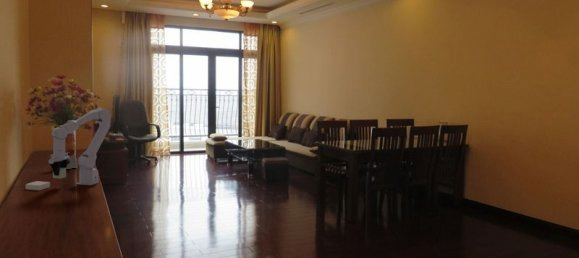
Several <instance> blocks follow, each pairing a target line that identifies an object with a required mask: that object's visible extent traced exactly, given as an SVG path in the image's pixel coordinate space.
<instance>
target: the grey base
mask: <svg viewBox="0 0 579 258" xmlns="http://www.w3.org/2000/svg"><path fill="white" fill-rule="evenodd" d="M50 187H51V182H50V181H40V180H36V181H32V182H29V183H26V184H25V190H30V191H43V190H45V189H48V188H50Z"/></svg>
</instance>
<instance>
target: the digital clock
mask: <svg viewBox="0 0 579 258" xmlns="http://www.w3.org/2000/svg"><path fill="white" fill-rule="evenodd" d="M68 153H69V152H65V156H69V155H68ZM52 157H53V154H50V155H49V160H50V159H52ZM67 160H68V159H67ZM78 166H79V165H78V160H77V157H76V153H75V152H74V157H73V158H72V157H70V159H69V163H68V165H67V167H66V169H71V168H76V169H78ZM51 170H52V171H53V169H52V168H51ZM71 170H72V169H71Z"/></svg>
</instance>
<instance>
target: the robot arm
mask: <svg viewBox="0 0 579 258" xmlns="http://www.w3.org/2000/svg"><path fill="white" fill-rule="evenodd" d="M111 118H112V113H111V111H110V110H109V109H106V108H99V107H97V108H95V109H92V110H90V111H89V112H87V113H86V114H84V115H82V116H81V117H79V118H78V119H76V120H74V119H71V120H67V122H65V123H64V124H62V125H61V124H60V125H59V127H55V128H53V129H52V131H51V132H50V133H51V136H52V139H53V140H52V141H53V142H52V143H53V145H52V146H53V147H52V148H53V149H52V151H53V152H52V153H53V157H52V159H50V158H49V159H48V165H49V166H50V167H51V170H52V169H53V170H52V173H53V172H54V175H55V176H59V169H60V168H66V167H67V165H68V163H69V159H70V156H65V153H66V138H67V136H68V135H69V134H71V133H73V132H75V131H77V130H79V127H80V126H81V125H83V124H85V123H88V122H89V121H91V120H96V121H97V122H98V128H97V130H96V132H95V134H94V136H93V138H92V140H91V141H90V143H89V145H88V147H87V149H86V150H85V151H83V153H82V154H81V155H80V156H79V157H78V158H77V165H78V166H79V170H78V171H79V174H78V175H79V177H78V178H79V180H78V181H79V182H76V183H75V185H82V186H93V185H96V184H99V183H100V181H99V170H98V169H97V168H95V166H96V160H97V158H98V157H97V153H98V151H99V149H100V147H101V145H102V144H103V141H104V140H105V137H106V136H107V134H108V132H109V130H110V128H111V120H112V119H111ZM67 159H68V160H67Z"/></svg>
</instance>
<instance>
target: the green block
mask: <svg viewBox="0 0 579 258" xmlns="http://www.w3.org/2000/svg"><path fill="white" fill-rule="evenodd" d="M66 177H67V170H66V168H60V169H59V176H55V175H54V172H53V171H52V178H53V179H64V178H66Z"/></svg>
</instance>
